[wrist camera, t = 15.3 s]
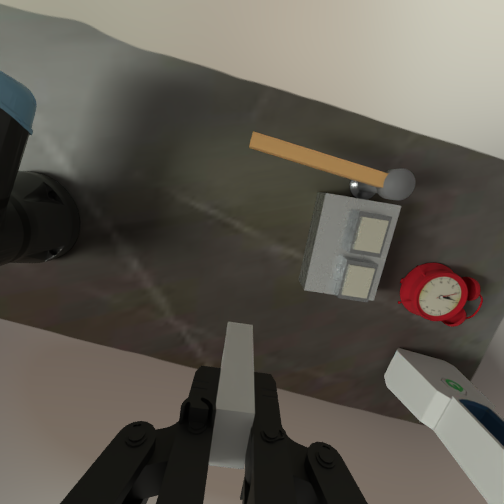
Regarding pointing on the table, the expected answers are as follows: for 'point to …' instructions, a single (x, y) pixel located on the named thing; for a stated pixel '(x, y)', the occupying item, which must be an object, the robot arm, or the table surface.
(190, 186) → the table surface
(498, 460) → the electronic device
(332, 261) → the grey boxy piece
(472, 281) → the alarm clock
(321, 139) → the table surface
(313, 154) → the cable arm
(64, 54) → the table surface
